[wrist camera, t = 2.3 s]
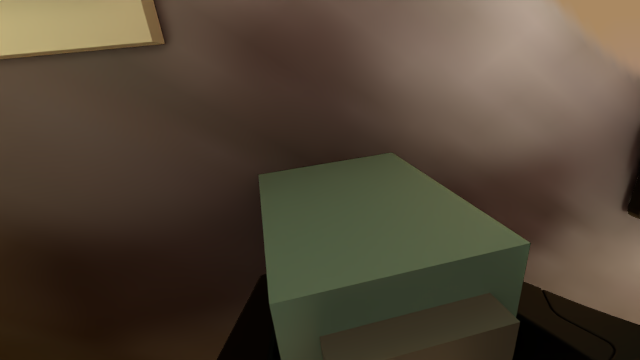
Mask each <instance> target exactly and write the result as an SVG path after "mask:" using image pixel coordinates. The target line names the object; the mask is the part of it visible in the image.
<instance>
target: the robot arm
mask: <svg viewBox="0 0 640 360" xmlns="http://www.w3.org/2000/svg"><path fill="white" fill-rule="evenodd" d="M628 214H629V215H631V216H633V217H636V218H638V219H640V172H639V175H638V178H637V181H636V184H635V187H634V190H633V193H632V196H631V199H630V203H629V206H628ZM516 318H517V319H518V320H519V321H520V325H519V330H518V335H517V340H516V344H515V349H514V354H513V359H512V360H640V325H638V324H635V323H632V322H629V321H626V320H623V319H620V318H618V317H615V316H612V315H609V314H606V313H603V312H601V311H598V310H595V309H592V308H589V307H587V306H584V305H581V304H579V303H576V302H574V301H571V300H569V299H566V298H563V297H561V296H558V295H556V294H553V293H551V292H549V291H546V290H541V288H539V287H536V286H534V285H531V284H529V283H526V282H524V281H523V285H522V290H521V295H520V300H519V305H518V310H517V315H516ZM217 360H281V357H280V353H279V348H278V343H277V338H276V334H275V329H274V324H273V320H272V315H271V310H270V305H269V295H268V283H267V274H263V275H261V276H260V278H259V280H258V282H257V284H256V286H255V288H254V290H253V291H252V293H251V295H250V297H249V299H248V301H247V303H246V305H245V307H244V309H243V310H242V312H241V314H240V316H239V318H238V320H237V322H236V324H235V326H234V328H233V330H232V331H231V333H230V335H229V337H228V339H227V341H226V343H225V345H224V347H223V349H222V350H221V352H220V354H219V356H218V358H217Z"/></svg>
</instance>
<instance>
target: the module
mask: <svg viewBox="0 0 640 360" xmlns="http://www.w3.org/2000/svg"><path fill="white" fill-rule="evenodd" d="M258 176H259V188H260V200H261V212H262V224H263V236H264V247H265V259H266V271H267V283H268V295H269V305H270V310H271V315H272V320H273V324H274V329H275V334H276V338H277V343H278V348H279V353H280V357H281V360H512V359H513V354H514V349H515V344H516V340H517V335H518V330H519V325H520V321H519V320H518V319H517V318H516V315H517V310H518V305H519V300H520V295H521V290H522V285H523V279H524V274H525V269H526V264H527V259H528V254H529V249H530V244H531V243H530V242H528V241H527V240H525V239H524V238H522V237H521V236H519V235H518V234H516V233H515V232H513V231H512V230H510V229H508V228H507V227H505V226H504V225H502V224H501V223H499V222H498V221H496V220H495V219H493V218H492V217H490V216H489V215H487V214H486V213H484V212H482V211H481V210H479V209H478V208H476V207H475V206H473V205H472V204H470V203H469V202H467V201H466V200H464V199H463V198H461V197H459V196H458V195H456V194H455V193H453V192H452V191H450V190H449V189H447V188H446V187H444V186H443V185H441V184H440V183H438V182H436V181H435V180H433V179H432V178H430V177H429V176H427V175H426V174H424V173H423V172H421V171H420V170H418V169H417V168H415V167H414V166H412V165H410V164H409V163H407V162H406V161H404V160H403V159H401V158H400V157H398V156H397V155H395V154H394V153H386V154H380V155H374V156H368V157H362V158H356V159H350V160H344V161H338V162H332V163H326V164H320V165H314V166H308V167H302V168H296V169H290V170H284V171H278V172H272V173H266V174H260V175H258Z"/></svg>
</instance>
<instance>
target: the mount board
mask: <svg viewBox="0 0 640 360" xmlns="http://www.w3.org/2000/svg"><path fill="white" fill-rule="evenodd" d="M158 44H165V42H164V39H163V35H162V31H161V27H160V24H159V20H158V16H157V12H156V9H155V5H154V1H153V0H0V59H9V58H20V57H31V56H41V55H52V54H62V53H73V52H84V51H94V50H105V49H116V48H126V47H137V46H147V45H158Z"/></svg>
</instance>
